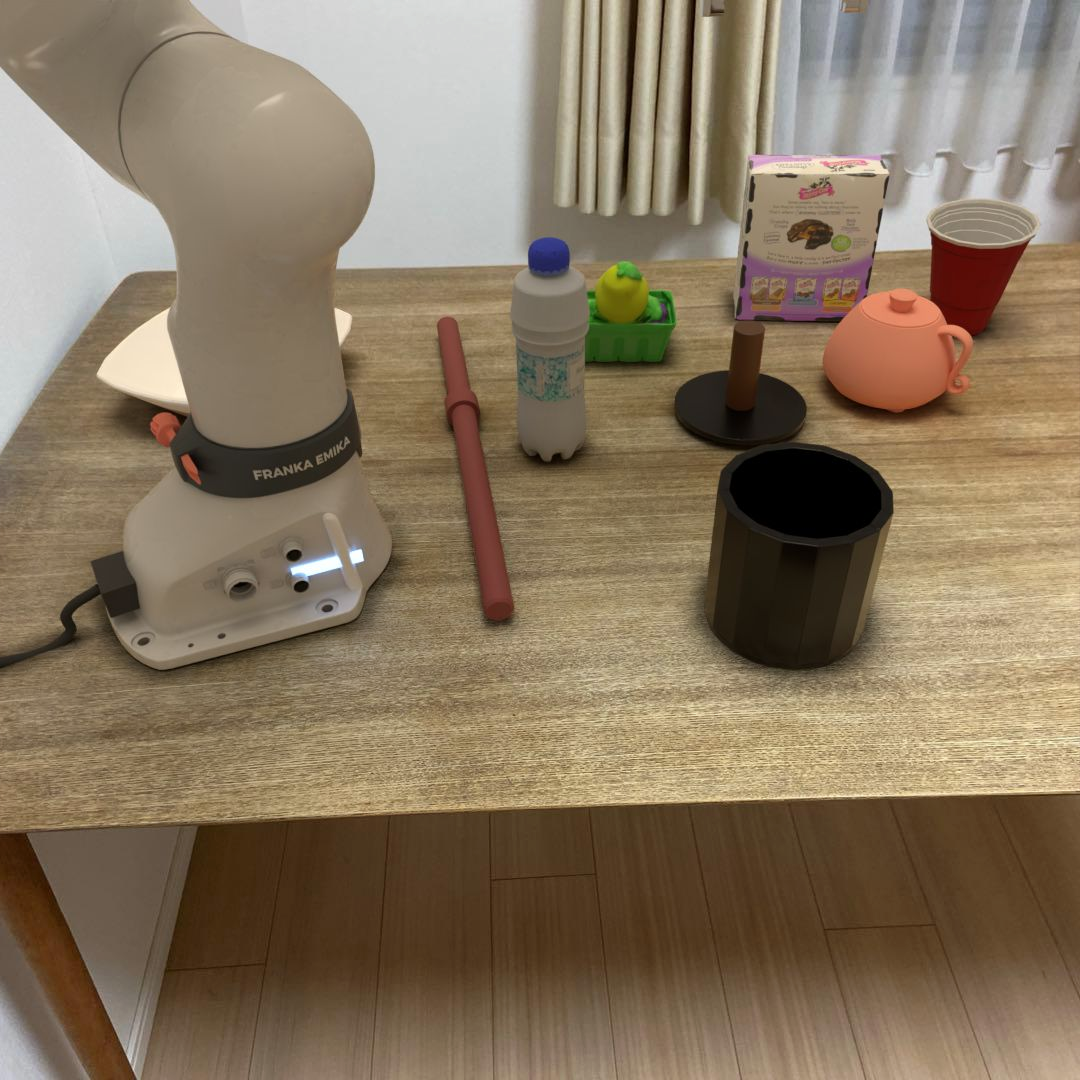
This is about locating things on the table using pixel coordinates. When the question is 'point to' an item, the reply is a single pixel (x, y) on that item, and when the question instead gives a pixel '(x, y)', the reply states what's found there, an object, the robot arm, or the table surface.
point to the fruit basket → (628, 318)
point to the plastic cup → (975, 256)
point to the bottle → (550, 350)
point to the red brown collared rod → (474, 475)
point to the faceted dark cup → (795, 553)
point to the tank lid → (741, 397)
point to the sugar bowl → (896, 352)
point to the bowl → (162, 364)
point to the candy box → (808, 235)
